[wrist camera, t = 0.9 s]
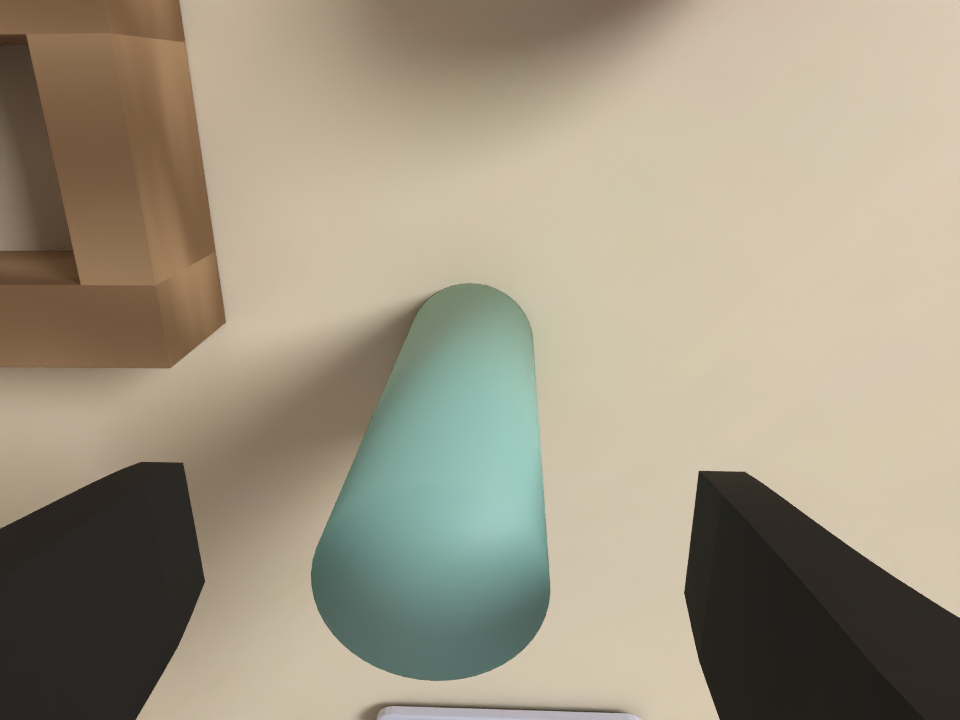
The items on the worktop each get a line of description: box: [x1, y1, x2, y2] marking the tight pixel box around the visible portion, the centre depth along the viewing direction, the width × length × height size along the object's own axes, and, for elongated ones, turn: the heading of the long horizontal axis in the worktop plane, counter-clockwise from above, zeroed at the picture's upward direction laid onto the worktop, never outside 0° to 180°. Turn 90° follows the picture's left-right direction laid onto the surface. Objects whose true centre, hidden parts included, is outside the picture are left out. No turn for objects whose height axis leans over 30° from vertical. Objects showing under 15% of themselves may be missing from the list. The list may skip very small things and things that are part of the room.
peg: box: [311, 283, 550, 681], centre depth 13 cm, size 3×3×9 cm
